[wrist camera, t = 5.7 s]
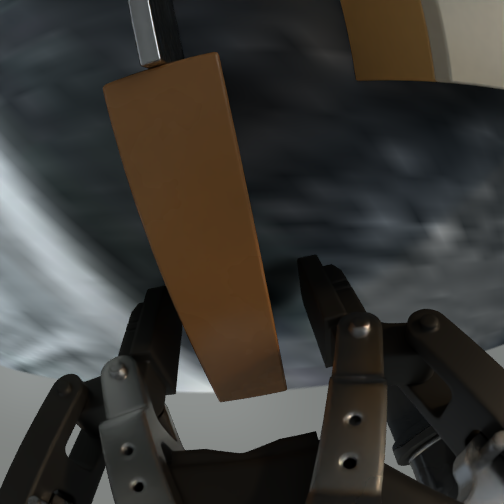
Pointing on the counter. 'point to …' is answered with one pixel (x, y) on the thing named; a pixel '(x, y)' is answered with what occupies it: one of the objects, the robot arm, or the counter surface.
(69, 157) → the counter surface
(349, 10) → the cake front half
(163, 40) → the knife
